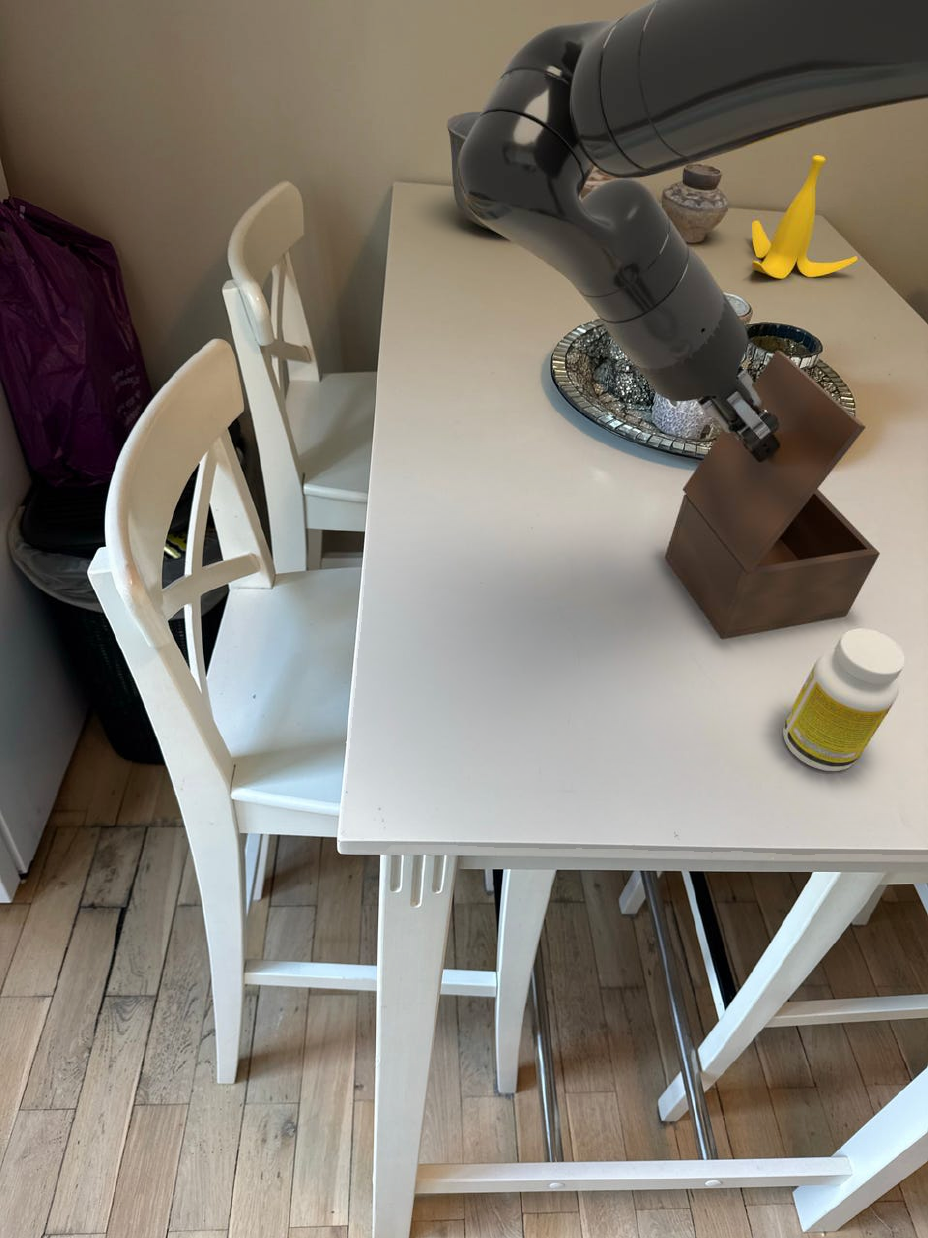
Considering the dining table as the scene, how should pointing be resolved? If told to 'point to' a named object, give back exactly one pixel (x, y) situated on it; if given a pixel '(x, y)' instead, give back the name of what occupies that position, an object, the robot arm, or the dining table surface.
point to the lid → (772, 463)
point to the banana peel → (794, 236)
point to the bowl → (458, 134)
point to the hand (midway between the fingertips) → (766, 450)
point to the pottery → (685, 199)
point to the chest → (773, 570)
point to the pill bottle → (844, 700)
